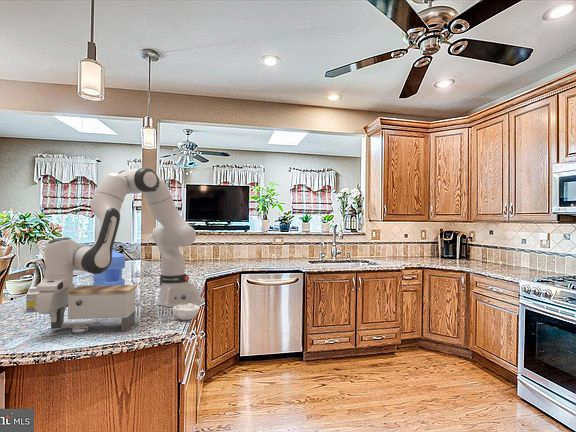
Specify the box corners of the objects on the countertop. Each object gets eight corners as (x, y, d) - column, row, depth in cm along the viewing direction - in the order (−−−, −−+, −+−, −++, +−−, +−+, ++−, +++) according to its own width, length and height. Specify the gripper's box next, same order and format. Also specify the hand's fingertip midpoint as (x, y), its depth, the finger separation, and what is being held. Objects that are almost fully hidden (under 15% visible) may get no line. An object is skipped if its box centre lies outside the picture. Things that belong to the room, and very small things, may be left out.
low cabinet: (136, 323, 137) (137, 284, 137) (127, 332, 125) (128, 291, 125) (78, 324, 133) (79, 285, 134) (63, 335, 121) (64, 292, 122)
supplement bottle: (39, 308, 158) (40, 285, 158) (43, 310, 154) (43, 287, 154) (24, 310, 154) (25, 287, 154) (27, 312, 150) (28, 289, 150)
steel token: (90, 329, 128) (90, 325, 128) (84, 334, 123) (84, 329, 123) (75, 330, 127) (75, 325, 127) (69, 334, 122) (69, 330, 122)
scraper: (100, 323, 131) (100, 305, 131) (98, 326, 128) (98, 307, 128) (54, 326, 128) (54, 307, 128) (50, 328, 125) (51, 309, 125)
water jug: (86, 295, 185) (87, 243, 186) (106, 290, 201) (107, 241, 201) (112, 297, 183) (113, 244, 183) (130, 291, 198) (131, 242, 199)
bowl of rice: (184, 314, 151) (185, 298, 151) (205, 318, 145) (205, 302, 145) (165, 319, 142) (166, 303, 142) (186, 324, 136) (187, 307, 136)
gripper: (62, 277, 137) (61, 313, 136) (33, 287, 116) (32, 328, 116) (80, 277, 138) (79, 312, 137) (54, 287, 117) (52, 328, 117)
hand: (57, 320), depth 126 cm, fingers closed on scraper, 3 cm apart
